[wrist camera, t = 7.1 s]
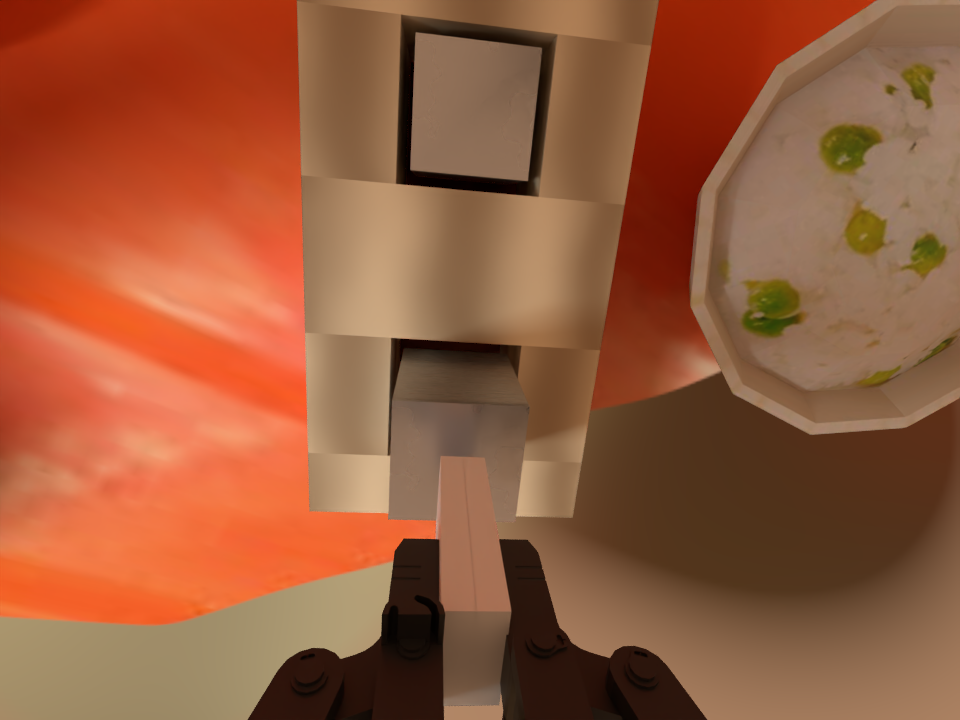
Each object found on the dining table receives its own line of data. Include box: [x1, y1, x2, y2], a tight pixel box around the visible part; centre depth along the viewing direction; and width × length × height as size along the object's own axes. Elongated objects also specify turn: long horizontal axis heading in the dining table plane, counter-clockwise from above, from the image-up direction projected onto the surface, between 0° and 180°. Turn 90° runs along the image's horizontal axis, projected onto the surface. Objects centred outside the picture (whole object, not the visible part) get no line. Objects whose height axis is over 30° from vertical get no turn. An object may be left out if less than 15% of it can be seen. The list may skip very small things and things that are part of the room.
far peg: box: [410, 32, 542, 185], centre depth 23 cm, size 5×5×6 cm
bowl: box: [689, 0, 960, 435], centre depth 25 cm, size 19×19×10 cm
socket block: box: [297, 0, 659, 518], centre depth 26 cm, size 14×26×7 cm, turn 175°
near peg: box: [388, 348, 530, 522], centre depth 22 cm, size 5×5×6 cm
